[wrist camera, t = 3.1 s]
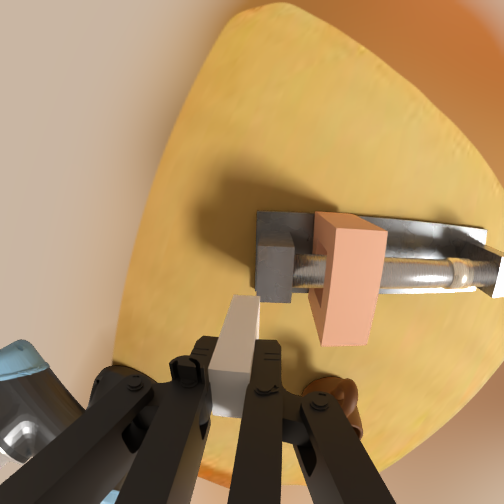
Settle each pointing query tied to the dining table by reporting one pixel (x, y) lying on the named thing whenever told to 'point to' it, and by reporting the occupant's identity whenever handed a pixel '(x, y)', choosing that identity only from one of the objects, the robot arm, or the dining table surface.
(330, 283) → the collar
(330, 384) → the mug
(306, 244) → the pipe rig
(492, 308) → the dining table surface
